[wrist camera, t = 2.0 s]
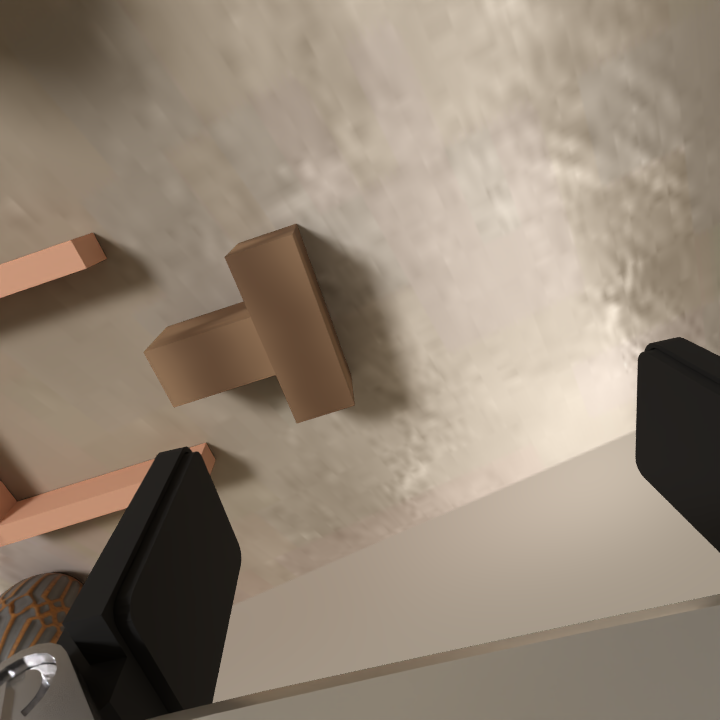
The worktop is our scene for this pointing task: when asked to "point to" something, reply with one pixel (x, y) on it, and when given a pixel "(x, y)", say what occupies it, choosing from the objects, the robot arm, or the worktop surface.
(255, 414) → the worktop surface
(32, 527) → the frame
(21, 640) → the vase
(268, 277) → the t block
